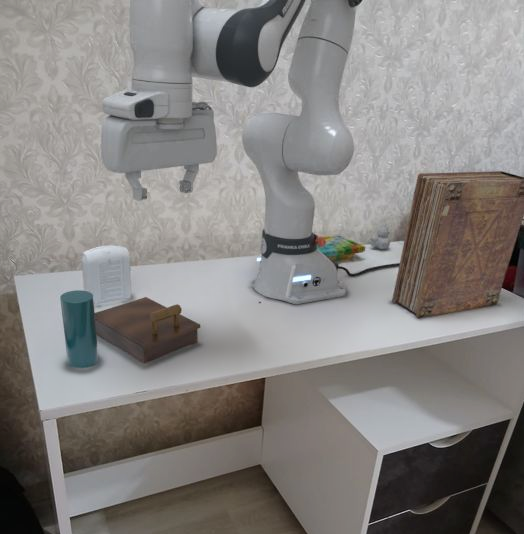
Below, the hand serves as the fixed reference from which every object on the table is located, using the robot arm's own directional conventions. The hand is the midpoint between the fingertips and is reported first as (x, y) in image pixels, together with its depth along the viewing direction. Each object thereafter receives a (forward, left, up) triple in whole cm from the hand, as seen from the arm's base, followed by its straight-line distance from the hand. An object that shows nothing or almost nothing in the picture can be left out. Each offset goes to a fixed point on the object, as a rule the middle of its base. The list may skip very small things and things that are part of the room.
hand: (163, 195), depth 89 cm
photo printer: (+8, -25, -29) cm, 40 cm away
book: (-69, -10, -29) cm, 76 cm away
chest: (+3, -5, -29) cm, 30 cm away
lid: (+3, -5, -25) cm, 26 cm away
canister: (+15, +1, -29) cm, 33 cm away
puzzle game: (-53, -45, -29) cm, 76 cm away
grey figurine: (-74, -50, -29) cm, 94 cm away
